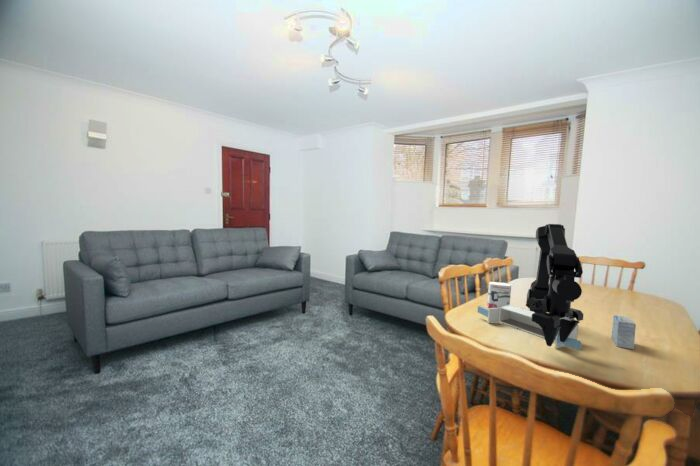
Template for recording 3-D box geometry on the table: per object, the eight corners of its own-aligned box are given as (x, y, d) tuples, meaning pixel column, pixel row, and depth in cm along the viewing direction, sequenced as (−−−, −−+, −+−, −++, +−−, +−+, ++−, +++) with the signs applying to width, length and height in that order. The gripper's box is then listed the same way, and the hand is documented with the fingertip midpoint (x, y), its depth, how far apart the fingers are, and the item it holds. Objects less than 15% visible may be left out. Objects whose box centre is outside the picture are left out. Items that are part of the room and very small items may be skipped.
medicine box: (633, 350, 97) (636, 324, 97) (615, 346, 100) (618, 321, 99) (627, 341, 104) (630, 317, 103) (611, 338, 106) (613, 314, 106)
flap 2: (554, 348, 96) (556, 330, 96) (563, 345, 99) (564, 328, 98) (578, 357, 91) (579, 338, 90) (586, 353, 93) (588, 336, 93)
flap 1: (499, 322, 118) (500, 308, 118) (488, 323, 117) (489, 308, 116) (487, 316, 124) (487, 302, 124) (476, 317, 123) (477, 303, 123)
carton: (508, 318, 123) (510, 304, 122) (576, 342, 102) (578, 324, 102) (498, 321, 119) (499, 306, 119) (566, 346, 99) (568, 328, 98)
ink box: (488, 309, 134) (490, 283, 133) (487, 306, 139) (488, 281, 138) (509, 312, 132) (511, 285, 131) (507, 308, 136) (509, 283, 136)
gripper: (547, 285, 103) (544, 330, 103) (516, 289, 93) (512, 338, 94) (586, 293, 93) (581, 342, 94) (555, 298, 84) (550, 353, 84)
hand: (555, 343), depth 92 cm, fingers open, 8 cm apart
